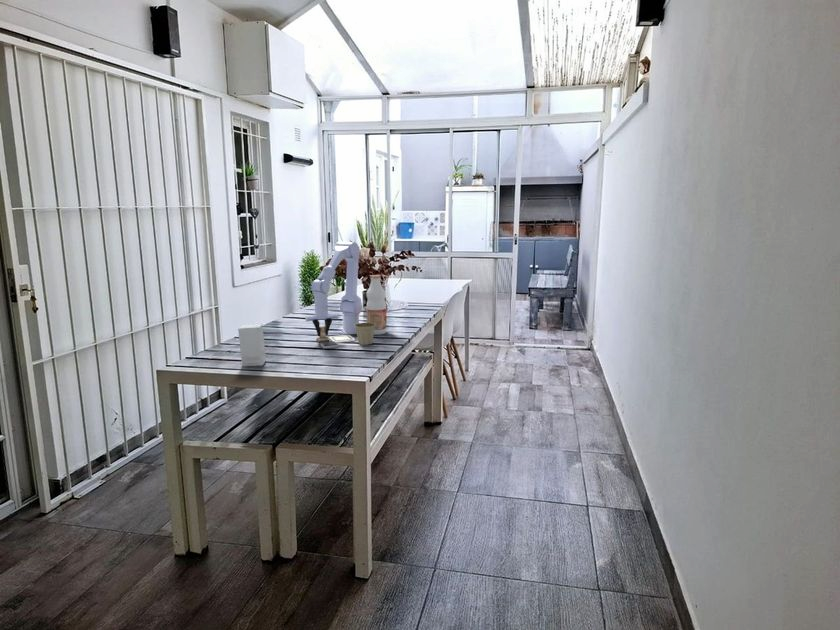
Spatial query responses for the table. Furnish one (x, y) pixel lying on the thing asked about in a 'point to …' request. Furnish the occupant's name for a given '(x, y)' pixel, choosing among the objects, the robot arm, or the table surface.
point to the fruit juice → (376, 305)
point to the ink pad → (329, 344)
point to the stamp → (322, 335)
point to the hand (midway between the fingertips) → (322, 335)
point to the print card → (342, 338)
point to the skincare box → (252, 345)
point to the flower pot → (365, 333)
